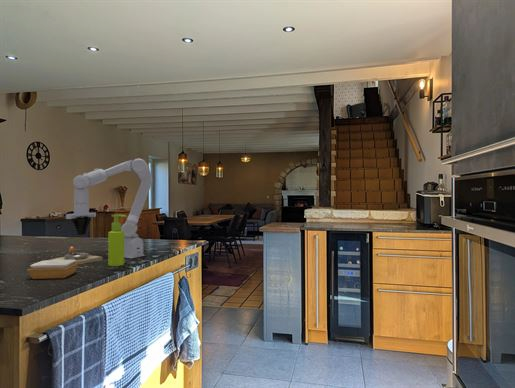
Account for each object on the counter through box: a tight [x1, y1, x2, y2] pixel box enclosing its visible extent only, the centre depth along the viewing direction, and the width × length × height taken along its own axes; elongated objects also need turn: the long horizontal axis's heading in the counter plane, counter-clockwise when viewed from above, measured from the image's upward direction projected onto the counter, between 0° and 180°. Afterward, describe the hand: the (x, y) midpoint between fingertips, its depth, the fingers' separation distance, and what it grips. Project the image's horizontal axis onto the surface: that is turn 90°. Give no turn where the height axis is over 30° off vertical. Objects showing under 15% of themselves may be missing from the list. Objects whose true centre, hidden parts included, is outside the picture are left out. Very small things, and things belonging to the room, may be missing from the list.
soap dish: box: [26, 259, 80, 280], centre depth 119 cm, size 12×10×5 cm
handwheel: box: [63, 246, 90, 259], centre depth 145 cm, size 9×9×4 cm
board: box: [49, 254, 103, 265], centre depth 145 cm, size 14×14×1 cm
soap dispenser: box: [107, 213, 127, 267], centre depth 138 cm, size 6×7×20 cm
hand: (81, 234), depth 151 cm, fingers closed
